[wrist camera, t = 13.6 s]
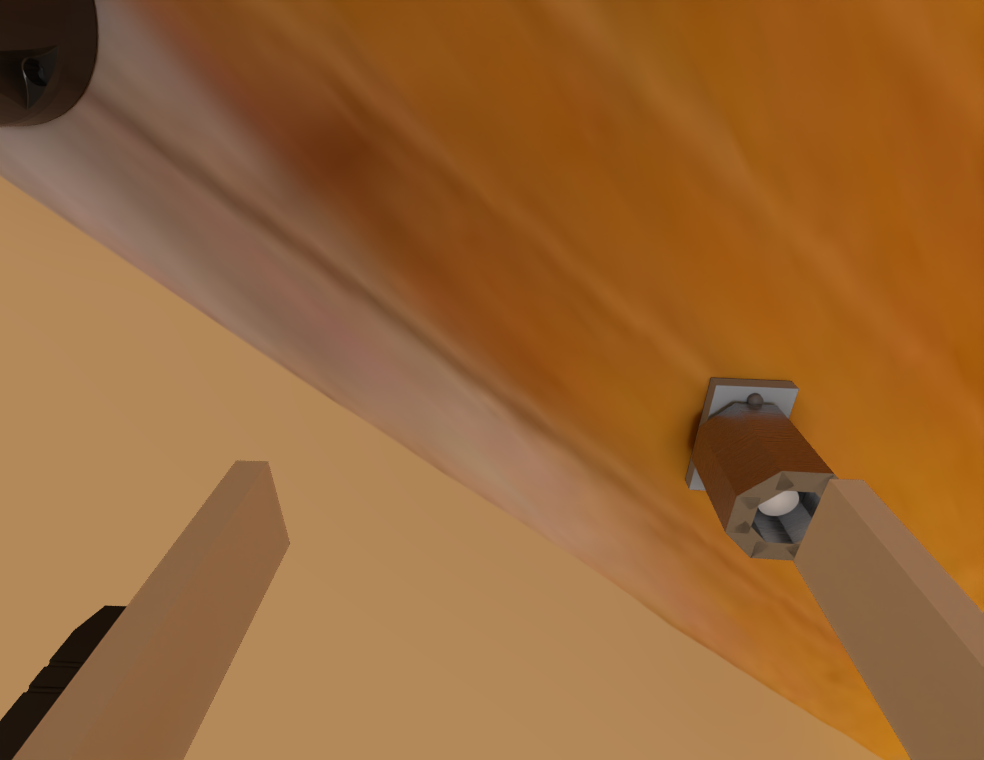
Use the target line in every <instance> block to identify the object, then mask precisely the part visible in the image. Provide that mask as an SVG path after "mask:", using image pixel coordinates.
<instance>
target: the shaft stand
mask: <svg viewBox="0 0 984 760" xmlns="http://www.w3.org/2000/svg"><path fill="white" fill-rule="evenodd" d="M798 390H799V388H798V387H797V386H796V385H795V384H794V383H793V382H792V381H777V380H753V379H729V378H711V380H710V384H709V388H708V392H707V396H706V400H705V404H704V408H703V412H702V416H701V420H700V424H699V426H700V425H702V424H703V423H705V422H706V421H708V420H710V419H711V418H713V417H714V416H716V415H717V414H719V413H720V412H722V411H724V410H725V409H727V408H728V407H730V406H731V405H733V404H735V403H740V404H761V405H777V406H778V407H779V408H780V409H781V411H782V412H783V413H784V414H785V415H786V417H787V418H788V419H789V416H790V413H791V410H792V407H793V404H794V401H795V399H796V396H797V393H798ZM698 429H699V428H698ZM697 433H698V432H697ZM696 437H697V436H696ZM695 441H696V440H695ZM694 445H695V444H694ZM685 481H686V483H687V485H688V488H689V489H690V490H705V487H704V485H703V483H702V481H701V479H700V477H699V474H698V472H697V470H696V468H695V466H694V464H693V461H692V459H691V460H690V464H689V468H688V472H687V476H686V480H685ZM798 501H799V495H798V493H797V491H784V492H782V493H780V494H778V495H777V496H775V497H773V498H771V499H769V500H767V501H766V502H764V503H762V504H760V505H758V508H759V510H760V511H761V512H762V513H764V514H766V515H770V516H779V515H783V514H786V513H788V512H790V511H791V510H793V509H794V508H795V507H796V505H797V504H798Z"/></svg>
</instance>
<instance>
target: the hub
mask: <svg viewBox="0 0 984 760" xmlns="http://www.w3.org/2000/svg"><path fill="white" fill-rule="evenodd" d="M691 459H692V461H693V464H694V466H695V468H696V470H697V472H698V474H699V477H700V479H701V481H702V483H703V485H704V487H705V490H706V492H707V494H708V496H709V498H710V500H711V502H712V505H713V507H714V509H715V511H716V513H717V515H718V518H719V520H720V522H721V524H722V526H723V528H724V531H725V533H726V534H727V535H728V536H729V537H730V538H731V539H732V540H733V541H734V542H735V543H736V544H737V545H738V546H739V547H740V548H741V549H742V550H743V551H744V552H745V553H746V554H747V555H748V556H749V557H750V558H762V559H778V560H794V558H795V556H796V553H797V551H798V549H799V547H800V544H801V542H802V540H803V538H804V535H805V533H806V531H807V529H808V526H809V524H810V522H811V520H812V517H813V515H814V513H815V511H816V508H817V506H818V504H819V502H820V499H821V497H822V495H823V493H824V491H825V488H826V486H827V484H828V482H829V479H838V478H837V477H836V475H835V474H834V473H833V472H832V471H831V469H830V468H829V467H828V466H827V465H826V463H825V462H824V461H823V460H822V459H821V457H820V456H819V455H818V454H817V453H816V451H815V450H814V449H813V448H812V447H811V445H810V444H809V443H808V442H807V441H806V439H805V438H804V437H803V436H802V435H801V433H800V432H799V431H798V430H797V429H796V427H795V426H794V425H793V424H792V423H791V421H790V420H789V419H788V418H787V417H786V415H785V414H784V413H783V412H782V411H781V409H780V408H779V407H778V406H777V405H761V404H740V403H735V404H733V405H731V406H730V407H728V408H727V409H725V410H724V411H722V412H720V413H719V414H717V415H716V416H714V417H713V418H711V419H710V420H708V421H706V422H705V423H703V424H702V425H700V426H699V429H698V433H697V437H696V441H695V445H694V448H693V452H692V456H691ZM784 491H797V493H798V495H799V501H798V504H797V505H796V507H795V508H794V509H793V510H791V511H790V512H788V513H786V514H783V515H779V516H770V515H766V514H764V513H762V512H761V511H760V510H759V508H758V505H760V504H762V503H764V502H766V501H767V500H769V499H771V498H773V497H775V496H777V495H778V494H780V493H782V492H784Z"/></svg>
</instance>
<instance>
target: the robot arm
mask: <svg viewBox="0 0 984 760" xmlns="http://www.w3.org/2000/svg"><path fill="white" fill-rule="evenodd" d="M95 51H96V21H95V12H94V6H93V1H92V0H0V127H1V126H28V125H36V124H40V123H44V122H47V121H50V120H52V119H54V118H57V117H58V116H60V115H61V114H63V113H64V112H66V111H67V110H68V109H69V108H70V107H71V106H72V105H73V104H74V103H75V102H76V101H77V100H78V98H79V97H80V96H81V94H82V93H83V91H84V89H85V87H86V85H87V83H88V80H89V78H90V75H91V72H92V68H93V64H94V59H95ZM289 545H290V542H289V538H288V534H287V530H286V527H285V523H284V519H283V515H282V512H281V508H280V504H279V501H278V497H277V493H276V489H275V486H274V482H273V478H272V475H271V471H270V467H269V463H268V462H265V461H236V462H235V463H234V464H233V466H232V467H231V468H230V470H229V471H228V472H227V474H226V475H225V476H224V478H223V479H222V480H221V482H220V483H219V484H218V486H217V487H216V488H215V490H214V491H213V492H212V494H211V495H210V496H209V498H208V499H207V500H206V502H205V503H204V505H203V506H202V507H201V509H200V510H199V511H198V512H197V514H196V515H195V516H194V518H193V519H192V521H191V522H190V523H189V525H188V526H187V527H186V528H185V530H184V531H183V532H182V534H181V535H180V536H179V538H178V539H177V540H176V542H175V543H174V544H173V546H172V547H171V548H170V550H169V551H168V552H167V554H166V555H165V556H164V558H163V559H162V560H161V562H160V563H159V564H158V566H157V567H156V568H155V570H154V571H153V572H152V574H151V575H150V576H149V578H148V579H147V580H146V582H145V583H144V584H143V586H142V587H141V588H140V590H139V591H138V592H137V594H136V595H135V596H134V598H133V599H132V600H131V602H130V603H129V604H128V606H104V607H103V608H102V609H100V610H99V611H98V612H97V613H95V614H94V615H93V616H92V617H90V618H89V619H88V620H87V621H85V622H84V623H83V624H82V625H80V626H79V627H78V628H77V629H75V630H74V631H73V632H72V633H71V635H70V636H69V637H68V639H67V640H66V641H65V642H64V643H63V645H62V646H61V647H60V648H59V649H58V651H57V652H56V653H55V654H54V655H53V657H52V658H51V659H50V663H49V665H48V666H47V667H44V668H43V669H42V670H41V671H40V673H39V674H38V675H37V676H36V678H35V679H34V680H33V681H32V682H31V684H30V685H29V689H28V691H27V692H26V693H25V692H24V693H23V694H22V695H21V696H20V697H19V699H18V700H17V701H16V702H15V703H14V705H13V706H12V707H11V708H10V710H9V711H8V712H7V713H6V715H5V716H4V717H3V718H2V719H1V721H0V760H183V759H184V757H185V755H186V753H187V751H188V749H189V747H190V745H191V743H192V741H193V739H194V737H195V735H196V733H197V731H198V729H199V727H200V725H201V723H202V721H203V719H204V717H205V715H206V713H207V711H208V709H209V707H210V705H211V703H212V701H213V699H214V697H215V694H216V692H217V690H218V688H219V686H220V684H221V682H222V680H223V678H224V676H225V674H226V672H227V670H228V668H229V666H230V664H231V662H232V660H233V658H234V656H235V654H236V652H237V650H238V648H239V646H240V644H241V642H242V640H243V638H244V636H245V634H246V632H247V630H248V628H249V626H250V623H251V622H252V620H253V617H254V615H255V613H256V611H257V609H258V607H259V605H260V603H261V601H262V599H263V597H264V595H265V593H266V591H267V589H268V587H269V585H270V583H271V581H272V579H273V577H274V575H275V573H276V570H277V569H278V567H279V565H280V563H281V561H282V559H283V556H284V555H285V553H286V551H287V549H288V547H289ZM793 562H794V564H795V565H796V567H797V569H798V570H799V572H800V574H801V575H802V577H803V579H804V581H805V582H806V584H807V586H808V587H809V589H810V591H811V592H812V594H813V596H814V597H815V599H816V601H817V602H818V604H819V606H820V607H821V609H822V611H823V612H824V614H825V616H826V617H827V619H828V621H829V623H830V624H831V626H832V628H833V629H834V631H835V633H836V634H837V636H838V638H839V639H840V641H841V643H842V644H843V646H844V648H845V649H846V651H847V653H848V654H849V656H850V658H851V659H852V661H853V663H854V664H855V666H856V668H857V670H858V671H859V673H860V675H861V676H862V678H863V680H864V681H865V683H866V685H867V686H868V688H869V690H870V691H871V693H872V695H873V696H874V698H875V700H876V701H877V703H878V705H879V706H880V708H881V710H882V711H883V713H884V715H885V717H886V718H887V720H888V722H889V723H890V725H891V727H892V728H893V730H894V732H895V733H896V735H897V737H898V738H899V740H900V742H901V743H902V745H903V747H904V748H905V750H906V752H907V753H908V755H909V757H910V758H911V760H984V613H983V612H982V611H981V610H980V609H979V608H978V607H977V605H976V604H975V603H974V602H973V601H972V600H971V599H970V598H969V597H968V595H967V594H966V593H965V592H964V591H963V590H962V589H961V588H960V587H959V585H958V584H957V583H956V582H955V581H954V580H953V579H952V578H951V577H950V575H949V574H948V573H947V572H946V571H945V570H944V569H943V568H942V567H941V565H940V564H939V563H938V562H937V561H936V560H935V559H934V558H933V557H932V555H931V554H930V553H929V552H928V551H927V550H926V549H925V548H924V547H923V545H922V544H921V543H920V542H919V541H918V540H917V539H916V538H915V537H914V536H913V534H912V533H911V532H910V531H909V530H908V529H907V528H906V527H905V526H904V524H903V523H902V522H901V521H900V520H899V519H898V518H897V517H896V516H895V514H894V513H893V512H892V511H891V510H890V509H889V508H888V507H887V506H886V504H885V503H884V502H883V501H882V500H881V499H880V498H879V497H878V496H877V494H876V493H875V492H874V491H873V490H872V489H871V488H870V487H869V486H868V484H867V483H866V482H865V481H864V480H847V479H829V482H828V484H827V486H826V488H825V491H824V493H823V495H822V497H821V499H820V502H819V504H818V506H817V508H816V511H815V513H814V515H813V517H812V520H811V522H810V524H809V526H808V529H807V531H806V533H805V535H804V538H803V540H802V542H801V544H800V547H799V549H798V551H797V553H796V556H795V558H794V560H793Z"/></svg>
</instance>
